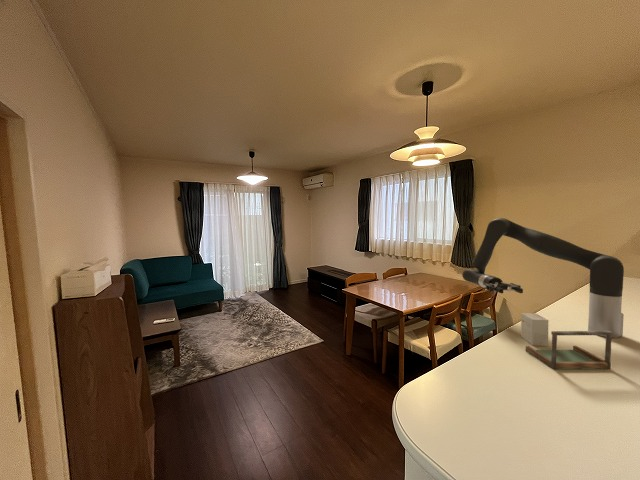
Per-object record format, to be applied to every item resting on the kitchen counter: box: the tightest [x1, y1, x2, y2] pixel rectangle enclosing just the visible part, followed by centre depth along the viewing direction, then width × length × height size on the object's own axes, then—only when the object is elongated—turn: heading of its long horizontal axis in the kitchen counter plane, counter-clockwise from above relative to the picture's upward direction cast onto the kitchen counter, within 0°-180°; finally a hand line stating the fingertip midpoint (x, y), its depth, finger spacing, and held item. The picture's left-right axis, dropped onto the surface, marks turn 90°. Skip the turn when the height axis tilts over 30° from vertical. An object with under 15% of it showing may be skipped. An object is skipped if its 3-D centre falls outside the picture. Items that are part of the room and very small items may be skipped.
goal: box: [525, 330, 613, 370], centre depth 90 cm, size 18×12×12 cm, turn 87°
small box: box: [520, 312, 549, 347], centre depth 104 cm, size 8×6×10 cm
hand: (512, 291), depth 116 cm, fingers open, 8 cm apart
